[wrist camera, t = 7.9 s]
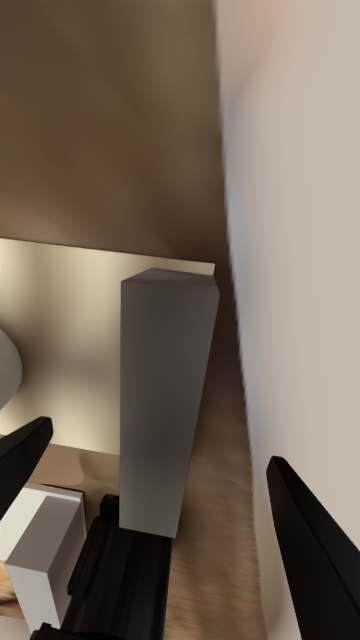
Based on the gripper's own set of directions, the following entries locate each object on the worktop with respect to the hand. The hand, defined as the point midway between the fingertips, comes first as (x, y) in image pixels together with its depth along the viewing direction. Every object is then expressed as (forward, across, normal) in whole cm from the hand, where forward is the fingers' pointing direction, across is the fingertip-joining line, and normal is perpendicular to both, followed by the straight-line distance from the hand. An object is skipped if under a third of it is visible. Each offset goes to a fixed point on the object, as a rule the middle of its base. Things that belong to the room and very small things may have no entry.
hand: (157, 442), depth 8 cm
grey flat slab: (+4, +16, +20) cm, 26 cm away
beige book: (+4, +9, 0) cm, 10 cm away
